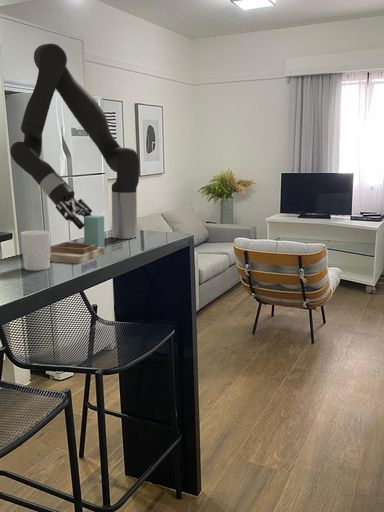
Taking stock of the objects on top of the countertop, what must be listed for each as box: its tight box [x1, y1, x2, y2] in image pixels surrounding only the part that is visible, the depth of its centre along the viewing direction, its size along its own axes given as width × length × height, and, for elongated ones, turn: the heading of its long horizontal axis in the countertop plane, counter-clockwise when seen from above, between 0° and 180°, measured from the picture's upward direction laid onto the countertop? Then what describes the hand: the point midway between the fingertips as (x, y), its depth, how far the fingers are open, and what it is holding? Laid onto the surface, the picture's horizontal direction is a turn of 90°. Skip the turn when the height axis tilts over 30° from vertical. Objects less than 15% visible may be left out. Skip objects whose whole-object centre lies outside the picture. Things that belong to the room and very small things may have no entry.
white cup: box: [20, 229, 52, 271], centre depth 140 cm, size 8×8×10 cm
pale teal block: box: [83, 214, 105, 250], centre depth 168 cm, size 4×5×11 cm
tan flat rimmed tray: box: [50, 242, 105, 265], centre depth 156 cm, size 16×12×4 cm
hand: (88, 225), depth 168 cm, fingers open, 8 cm apart
